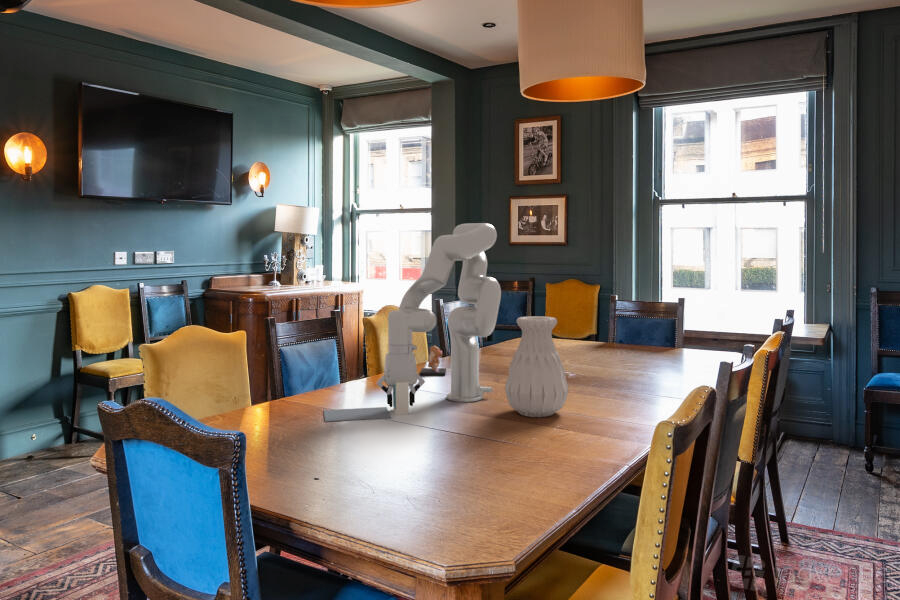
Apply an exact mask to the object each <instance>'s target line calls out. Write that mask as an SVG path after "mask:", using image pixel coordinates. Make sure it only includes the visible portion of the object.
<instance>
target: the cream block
mask: <svg viewBox="0 0 900 600" xmlns="http://www.w3.org/2000/svg"><path fill="white" fill-rule="evenodd" d="M409 389H410V387H409V382H395V386H393V389H392V408H393V409H392V410H393V411H394V413H395V416H396V415H397V416H398V415H400V416H401V415H409V414H410V408H409V407H410V404H409V393H410V390H409Z"/></svg>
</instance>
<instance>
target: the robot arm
mask: <svg viewBox="0 0 900 600" xmlns="http://www.w3.org/2000/svg"><path fill="white" fill-rule="evenodd" d="M497 233H498V232H497V230H496V227H494V225H492V224H490V223H487V222H477V223H476V222H475V223H473V222H471V223H461V224H458V225H457V226H455V227H454V229H453V231H452V234H445V235H443V234H442V235H440V236H438V237H437V238H436V239H435V240H434V242H433V244H432V247H431V249H430V252H429V254H428V258H427V260H426V263H425V266H424V268H423V270H422V273H421V275H420V277H419V278H417V280H415V281H414V283H413V284H411V286H410V287H409V288H408V290H407V291H406V292H405V294H404V295H403V298H401V299H402V300H401V301H400V305H399V308H398V310H397V309H395V310H391V311H389V313H388V317H387V320H388V321H387V323H388V324H387V325H388V326H387V327H388V328H387V331H388V336H387V337H388V339H387V340H388V341H387V342H388V345H387V346H388V352H386V354H385V357H384V358H385V359H384V367H383V368H384V369H383V370H384V371H383V375H382V376H381V377H380V378H379V379H378V380H377V381H376V385H377V386H378V387H379V388H380V389H381V390H382V391H383V392H385V394H386V398H387V399H386V402H387V404H386V405H388V406H389V408H393V393H392V392H393V386H395V382H409V389H410V390H409V407H410V406H411V407H413V406H414V403H415V399H416V398H415V395H416V393H417V392H418V390H419V389H420V388H421V387H422V386H423V385H424V384H425V382H426V381H425V379H423V377H422V376H420V375H419V373H418V372H417V371H418V370H417V362H416V361H417V360H416V356H415V352H414V350H415V351H416V350H418V345H416V344H413V333H428V332H431V331H433V329H435V328H436V326H437V316H436V315H435V313H434V312H433V310H432V311H431V310H430V309H428V308H427V309H426V308H420V306H421V304H422V302H423V301H424V300H425V299H426V298H427V297H428V296H429V295H431V294H432V293H435V292H437V291H438V290H440V289H442V288H443V287H445V286H446V285H447V282H448V280H449V278H450V274H451V271H452V269H453V266H454V264H455V262H456V261H458V262H459V261H461V262H462V265H461V266H462V268H461V273H460V278H459V283H458V288H457V296H458V299H459V300H460V301H461V302H463V303H465V304H473V305H474V304H475V306H476V307H472V306H471V307H470V306H459V307H455V308H453V309H452V310H451V311H450V312H449V314H448V318H447V328H448V332H449V337H450V392H449V393H447V394H446V399H447V400H449V401H453V402H456V403H457V402H459V403H471V402H479V401H481V400H482V399H484V393H489V394H490V393H493V386H481V384H479V383H480V382H479V381H480V380H479V379H480V378H479V371H480V370H479V366H480V363H479V358H480V357H479V353H480V350H479V341H478V340H477V338H476V337H479V338H486V337H488V336H491V335H492V333H493V332H494V330H495V327H496V324H497V320H498V314H499V310H500V303H501V298H502V289H501V284H500V283H499V282H498V280H497V279H496V278H494V277H492V276H487V269H488V259H487V254H486V253H485V251H487V250H489V249H490V248H491V249H492V247H493V246H494V245H495V243H496V241H497V238H498V237H497V236H498V234H497ZM383 383H385V385H384V384H383ZM386 385H387V386H386Z"/></svg>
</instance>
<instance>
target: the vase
mask: <svg viewBox="0 0 900 600" xmlns="http://www.w3.org/2000/svg"><path fill="white" fill-rule="evenodd" d="M516 323H517V325H518V327H519V328H520V330H521V337H520V338H521V339H520V341H519V344H518V347H517V349H516V350H515V352H514V354H513V356H512V359H511V362H510V364H509V367H508V370H507V371H508V375H507V378H506V381H505V385H504V392H505V395H506V398H507V402H508V405H509V406H510V407H511V408H512V410H514V411H516V412H518V414H520V415H522V416H525V417H530V418H536V417H537V418H544V417H550V416H552V415H554V414H555V413H557V412H558V411H560V410H561V409H562V408H563V407H564V406H565V403H566V401H567V397H568V394H569V386H568V382H567V379H566V378H567V377H566V370H565V366H564V364H563V362H562V359H561V355H560V353H559V352H558V350H557V348H556V346H555V342H554V341H553V336H552V333H553V332H552V331H553V329H554V328H555V327H556V325H557V324H558V319H557V318H556V317H551V316H543V315H541V316H538V315H537V316H535V315H534V316H529V315H528V316H520V317H519V316H518V317H517V319H516Z"/></svg>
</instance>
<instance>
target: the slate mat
mask: <svg viewBox="0 0 900 600" xmlns="http://www.w3.org/2000/svg"><path fill="white" fill-rule="evenodd" d="M323 415H324V422H325V423H330V422H331V423H332V422H351V421H365V420H366V421H369V420H387V419H389V420H390V419H392V416H391V414H390V412H389V410H388V407H387V406H381V407H380V406H379V407H378V406H377V407H360V408H342V409H341V408H339V409H324V410H323Z"/></svg>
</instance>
